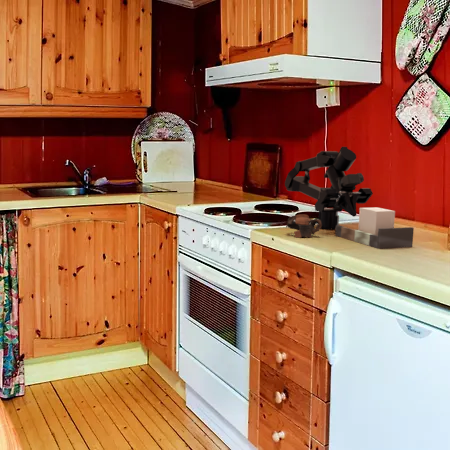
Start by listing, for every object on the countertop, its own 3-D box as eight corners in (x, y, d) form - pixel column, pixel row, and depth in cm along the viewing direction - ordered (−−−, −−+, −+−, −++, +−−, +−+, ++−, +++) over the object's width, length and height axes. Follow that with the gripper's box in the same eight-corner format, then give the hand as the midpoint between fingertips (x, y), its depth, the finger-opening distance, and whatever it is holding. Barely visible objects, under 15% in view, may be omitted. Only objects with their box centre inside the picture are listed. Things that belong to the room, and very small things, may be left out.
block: (358, 232, 204) (359, 207, 203) (375, 231, 206) (377, 207, 205) (375, 236, 196) (376, 211, 194) (393, 236, 198) (395, 211, 197)
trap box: (335, 235, 211) (336, 217, 210) (365, 234, 216) (366, 216, 215) (379, 248, 189) (380, 229, 189) (412, 246, 194) (413, 227, 193)
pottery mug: (286, 239, 204) (282, 215, 207) (291, 247, 213) (288, 224, 216) (322, 232, 202) (318, 208, 205) (326, 240, 210) (322, 218, 213)
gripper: (325, 164, 210) (342, 201, 201) (371, 165, 217) (389, 200, 209) (312, 185, 218) (327, 222, 210) (356, 185, 225) (373, 220, 217)
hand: (354, 215), depth 211 cm, fingers closed
